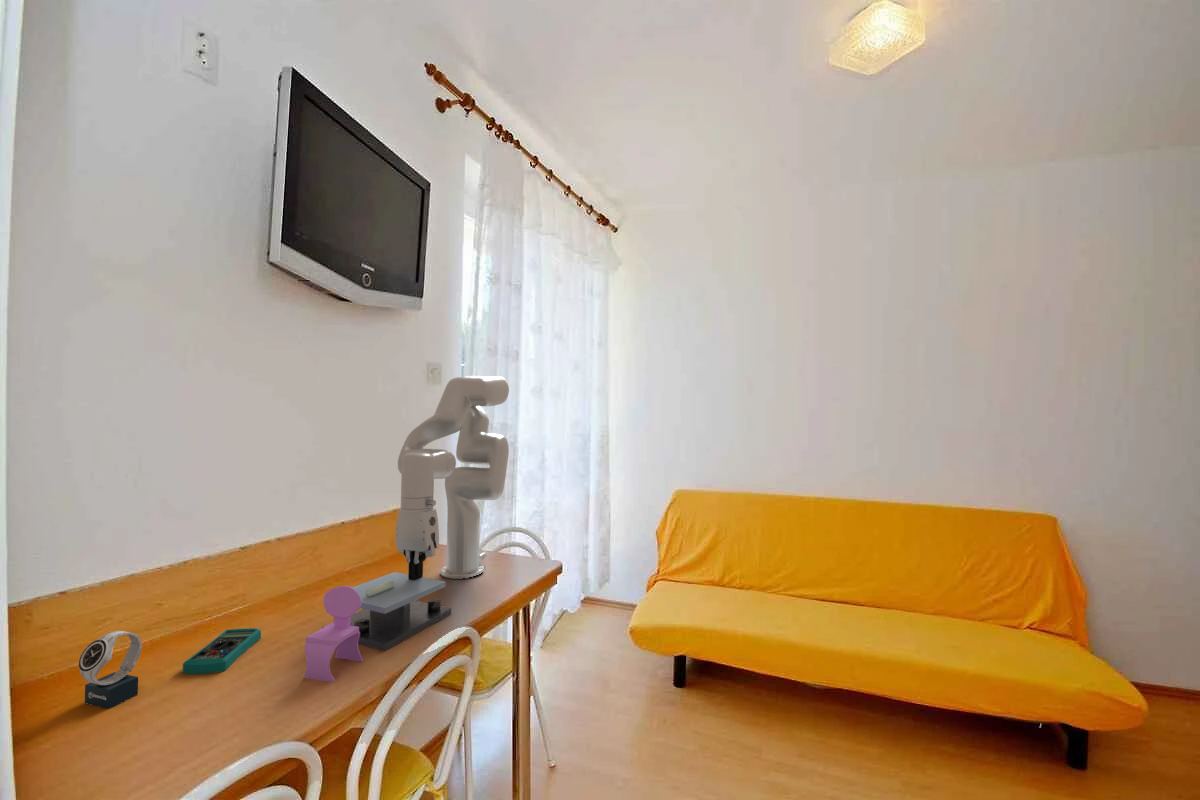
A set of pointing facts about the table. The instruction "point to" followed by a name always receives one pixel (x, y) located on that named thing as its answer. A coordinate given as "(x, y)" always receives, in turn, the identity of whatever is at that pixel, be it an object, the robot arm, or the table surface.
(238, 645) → the digital multimeter
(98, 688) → the watch
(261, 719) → the table surface
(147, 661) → the table surface
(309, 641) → the toy chair
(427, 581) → the plate
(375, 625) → the leveling stand
